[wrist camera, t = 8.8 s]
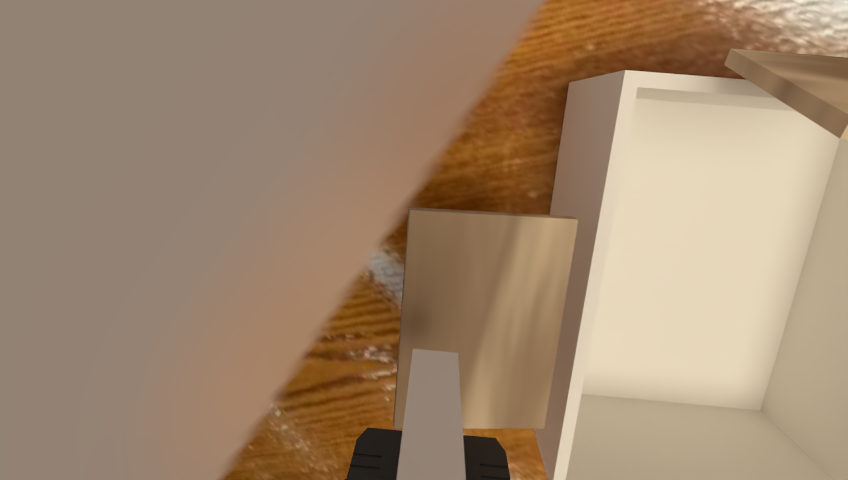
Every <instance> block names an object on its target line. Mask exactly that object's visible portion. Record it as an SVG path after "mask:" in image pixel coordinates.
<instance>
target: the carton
mask: <svg viewBox="0 0 848 480" xmlns="http://www.w3.org/2000/svg"><path fill="white" fill-rule="evenodd" d="M550 215H558V216H573V217H575V218H577V219H578V225H577V231H576V238H575V244H574V250H573V256H572V262H571V268H570V274H569V280H568V286H567V292H566V298H565V304H564V310H563V317H562V323H561V329H560V335H559V341H558V347H557V353H556V359H555V365H554V371H553V377H552V383H551V389H550V396H549V402H548V408H547V414H546V420H545V426H544V429H534V432H535V436H536V439H537V443H538V446H539V450H540V454H541V457H542V461H543V464H544V468H545V471H546V475H547V478H548V480H848V139H840V138H838V137H836V136H835V135H833V134H832V133H830V132H829V131H827V130H825V129H824V128H822V127H821V126H819V125H818V124H816V123H814V122H813V121H811V120H810V119H808V118H807V117H805V116H803V115H802V114H800V113H799V112H797V111H796V110H794V109H792V108H791V107H789V106H788V105H786V104H785V103H783V102H781V101H780V100H778V99H777V98H775V97H774V96H772V95H770V94H769V93H767V92H766V91H764V90H763V89H761V88H759V87H758V86H756V85H755V84H753V83H752V82H750V81H748V80H744V79H731V78H719V77H706V76H694V75H681V74H669V73H656V72H644V71H631V70H623V71H619V72H614V73H610V74H605V75H601V76H596V77H592V78H587V79H583V80H579V81H574V82H570V83H569V87H568V93H567V100H566V107H565V114H564V120H563V127H562V134H561V141H560V147H559V154H558V161H557V168H556V174H555V181H554V188H553V194H552V201H551V208H550Z"/></svg>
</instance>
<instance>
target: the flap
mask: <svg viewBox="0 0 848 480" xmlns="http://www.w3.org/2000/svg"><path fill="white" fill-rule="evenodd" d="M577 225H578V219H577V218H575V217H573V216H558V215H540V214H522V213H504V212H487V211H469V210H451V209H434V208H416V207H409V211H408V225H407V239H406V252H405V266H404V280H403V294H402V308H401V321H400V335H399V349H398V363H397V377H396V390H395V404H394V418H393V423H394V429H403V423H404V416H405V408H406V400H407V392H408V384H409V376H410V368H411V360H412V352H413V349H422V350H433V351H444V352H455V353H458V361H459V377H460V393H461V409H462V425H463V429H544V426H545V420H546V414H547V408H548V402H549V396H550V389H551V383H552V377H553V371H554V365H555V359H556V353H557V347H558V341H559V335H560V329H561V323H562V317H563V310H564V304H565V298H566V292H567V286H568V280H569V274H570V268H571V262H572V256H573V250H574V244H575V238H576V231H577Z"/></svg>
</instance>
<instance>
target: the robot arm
mask: <svg viewBox="0 0 848 480" xmlns="http://www.w3.org/2000/svg"><path fill="white" fill-rule="evenodd" d="M345 480H510V474H509V469H508V463H507V457H506V452H505V450H504V449H503V448H502V446H501V445H500V444H499V442H498V441H497V440H496V438H488V437H477V436H466V435H463V425H462V409H461V393H460V377H459V361H458V353H455V352H444V351H433V350H422V349H413V352H412V360H411V368H410V376H409V384H408V392H407V400H406V408H405V416H404V423H403V431H398V430H387V429H377V428H367V429H366V430H365V431H364V432H363V433H362V434H361V435H360V437H359V438H358V439H357V441H356V445H355V449H354V453H353V457H352V460H351V464H350V468H349V472H348V476H347V479H345Z"/></svg>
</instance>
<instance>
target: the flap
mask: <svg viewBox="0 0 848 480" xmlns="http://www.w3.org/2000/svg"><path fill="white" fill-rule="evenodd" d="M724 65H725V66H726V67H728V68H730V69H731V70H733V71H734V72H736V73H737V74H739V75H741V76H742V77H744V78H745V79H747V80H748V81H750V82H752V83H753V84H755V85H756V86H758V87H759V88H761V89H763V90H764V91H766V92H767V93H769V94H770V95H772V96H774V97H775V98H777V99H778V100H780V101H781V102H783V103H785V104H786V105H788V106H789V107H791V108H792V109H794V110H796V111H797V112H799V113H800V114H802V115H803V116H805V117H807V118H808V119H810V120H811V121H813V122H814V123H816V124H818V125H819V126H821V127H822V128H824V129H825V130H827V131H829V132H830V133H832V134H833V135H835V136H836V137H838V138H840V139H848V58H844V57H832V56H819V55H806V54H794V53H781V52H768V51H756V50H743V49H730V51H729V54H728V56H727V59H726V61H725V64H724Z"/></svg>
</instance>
